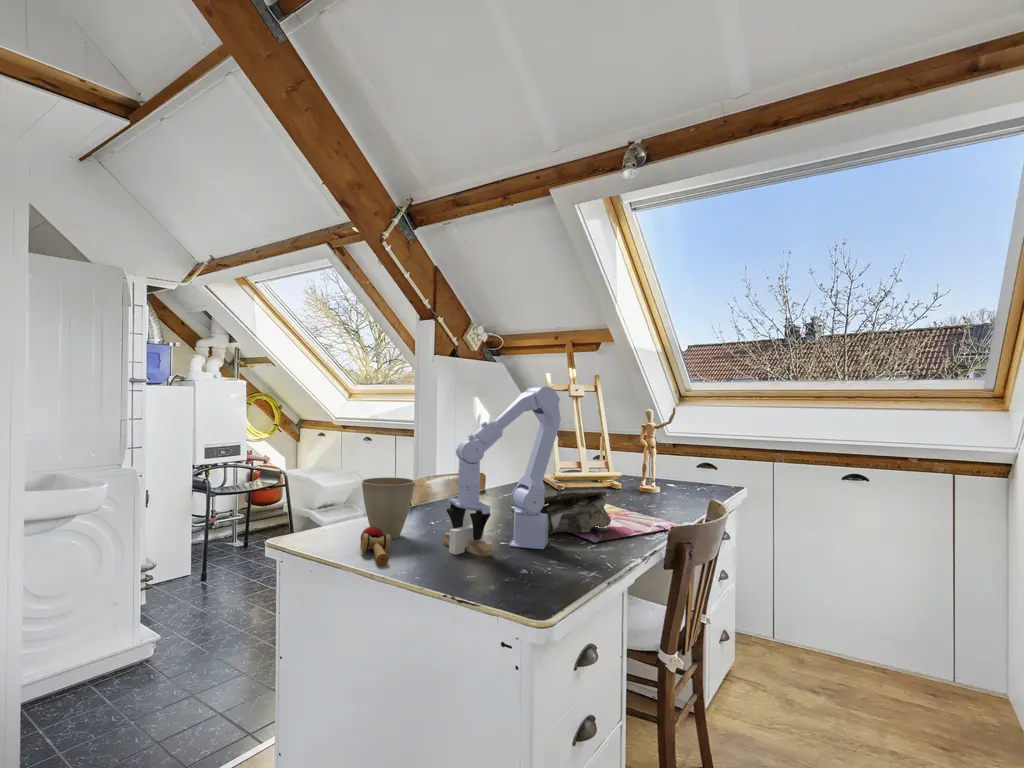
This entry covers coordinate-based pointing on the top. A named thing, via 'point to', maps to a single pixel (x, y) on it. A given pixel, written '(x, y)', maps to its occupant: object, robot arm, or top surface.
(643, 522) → the top surface
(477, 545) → the wooden bar
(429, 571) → the top surface
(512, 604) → the top surface
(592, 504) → the hollow geode rock
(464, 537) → the white flat block
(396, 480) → the plant pot
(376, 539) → the kendama
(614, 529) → the top surface
